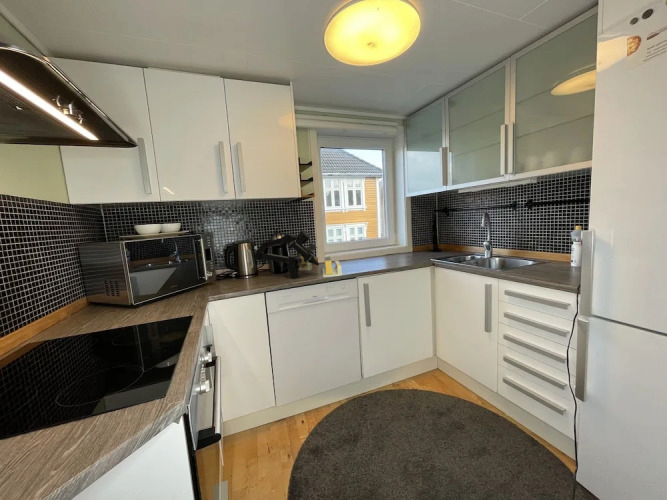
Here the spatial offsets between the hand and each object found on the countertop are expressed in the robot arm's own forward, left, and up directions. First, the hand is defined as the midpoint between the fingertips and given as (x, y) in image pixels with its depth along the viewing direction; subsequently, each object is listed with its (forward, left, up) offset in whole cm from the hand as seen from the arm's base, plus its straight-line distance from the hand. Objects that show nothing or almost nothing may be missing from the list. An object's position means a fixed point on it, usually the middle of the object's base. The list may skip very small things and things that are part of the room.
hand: (318, 264), depth 177 cm
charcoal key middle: (+12, 0, -6) cm, 14 cm away
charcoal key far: (+21, +5, -6) cm, 22 cm away
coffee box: (+21, +25, -8) cm, 34 cm away
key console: (+13, -2, -7) cm, 15 cm away
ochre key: (+4, -5, -6) cm, 9 cm away
